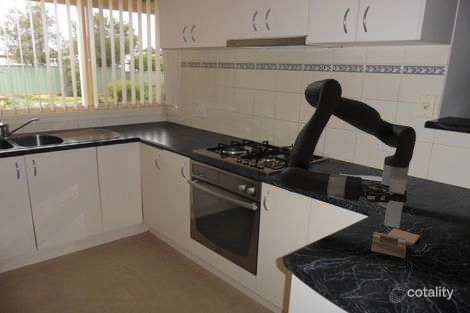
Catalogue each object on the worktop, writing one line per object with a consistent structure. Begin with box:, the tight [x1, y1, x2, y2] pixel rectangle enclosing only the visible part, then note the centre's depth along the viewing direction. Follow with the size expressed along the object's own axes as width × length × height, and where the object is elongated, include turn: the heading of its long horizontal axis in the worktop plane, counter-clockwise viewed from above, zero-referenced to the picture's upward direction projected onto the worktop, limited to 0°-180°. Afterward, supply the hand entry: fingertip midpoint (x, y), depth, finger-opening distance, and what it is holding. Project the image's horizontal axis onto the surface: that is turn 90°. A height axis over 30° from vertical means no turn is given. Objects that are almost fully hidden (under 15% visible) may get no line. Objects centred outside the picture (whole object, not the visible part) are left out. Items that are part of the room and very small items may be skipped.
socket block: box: [370, 231, 407, 259], centre depth 106 cm, size 9×9×2 cm
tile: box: [387, 228, 420, 246], centre depth 114 cm, size 8×8×1 cm
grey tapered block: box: [383, 176, 407, 229], centre depth 103 cm, size 4×4×14 cm
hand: (406, 196), depth 102 cm, fingers closed on grey tapered block, 4 cm apart
